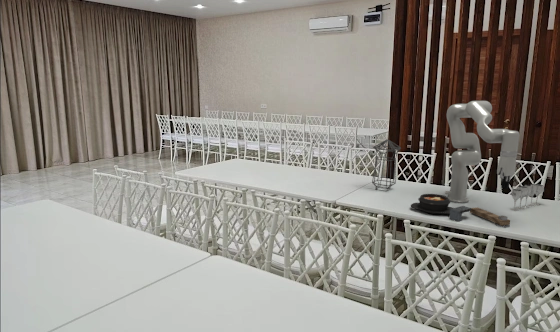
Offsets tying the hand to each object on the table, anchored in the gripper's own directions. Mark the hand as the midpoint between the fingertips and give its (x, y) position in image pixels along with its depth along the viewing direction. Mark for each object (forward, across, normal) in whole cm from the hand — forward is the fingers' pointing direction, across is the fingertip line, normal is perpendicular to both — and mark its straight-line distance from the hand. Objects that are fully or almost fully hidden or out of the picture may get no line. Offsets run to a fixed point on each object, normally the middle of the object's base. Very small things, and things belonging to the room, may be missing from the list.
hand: (504, 188), depth 211 cm
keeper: (+17, +18, -12) cm, 27 cm away
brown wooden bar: (+16, +7, -3) cm, 18 cm away
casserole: (+17, +20, -28) cm, 39 cm away
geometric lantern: (+17, +7, -77) cm, 79 cm away
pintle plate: (+17, +10, +6) cm, 21 cm away
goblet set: (+17, -34, -4) cm, 38 cm away
